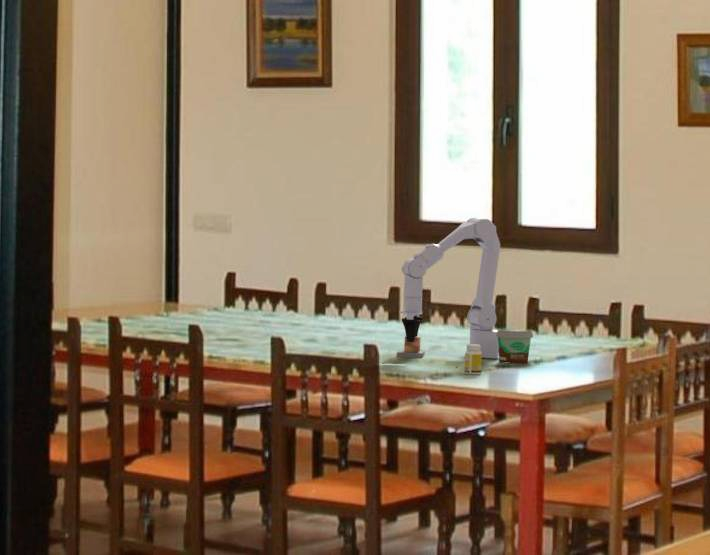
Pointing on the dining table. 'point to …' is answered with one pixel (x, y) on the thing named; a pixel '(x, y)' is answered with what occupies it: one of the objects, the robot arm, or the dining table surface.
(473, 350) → the supplement bottle
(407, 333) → the robot arm
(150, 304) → the dining table surface
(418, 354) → the slate top slab
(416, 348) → the terracotta cube
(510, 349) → the food container
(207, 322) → the dining table surface
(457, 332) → the dining table surface
